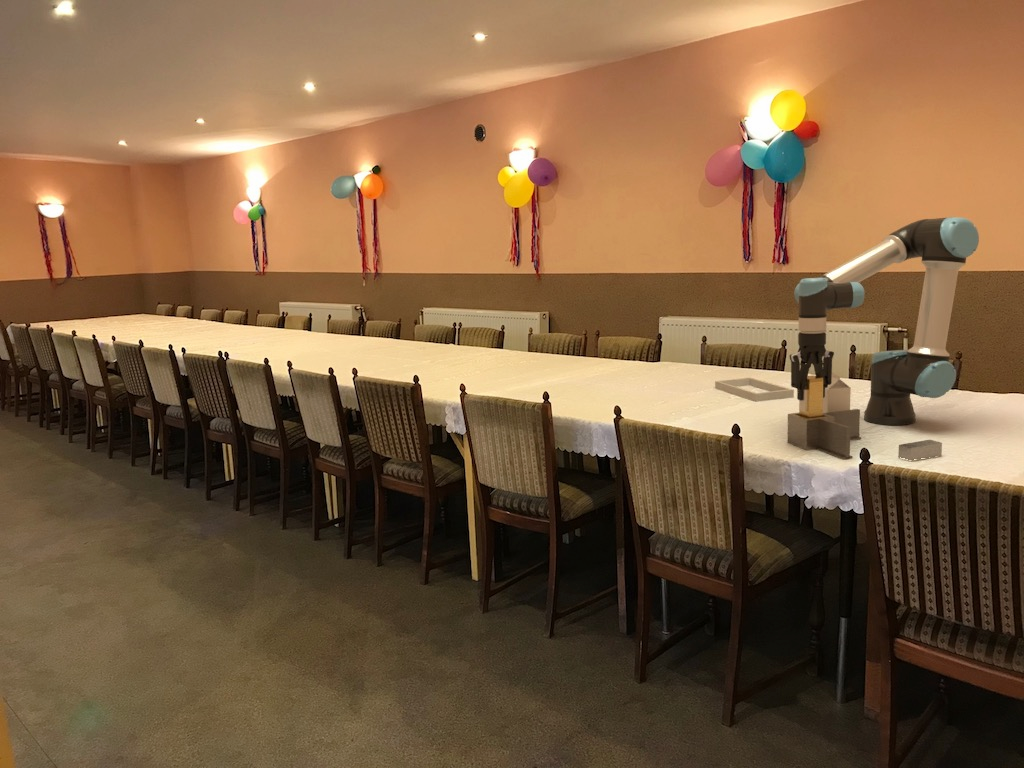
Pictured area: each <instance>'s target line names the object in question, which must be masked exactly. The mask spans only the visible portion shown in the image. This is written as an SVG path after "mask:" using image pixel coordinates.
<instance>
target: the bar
mask: <svg viewBox="0 0 1024 768" xmlns="http://www.w3.org/2000/svg"><path fill="white" fill-rule="evenodd" d="M942 450H943V442H941V441H937V440H933V439H925V440H920V441H914V442H908V443H907V442H906V443H901V444H898V452H897V453H898V455H897V456H898V457H901V458H905V459H908V460H914V459H921V458H928V459H930V458H929V457H933V458H936V457H935V456H939V457H942V453H943V451H942Z"/></svg>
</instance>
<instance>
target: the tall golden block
mask: <svg viewBox="0 0 1024 768" xmlns="http://www.w3.org/2000/svg"><path fill="white" fill-rule="evenodd" d="M805 389H806V390H807V412H804V411H801V410H799V409H798V411H799V412H798V413H799V416H801V417H804V418H807V419H810V418H818V417H823V378H822V377H818V376H816V375H815V374H814V375H808V377H807V381H806V386H805Z"/></svg>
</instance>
